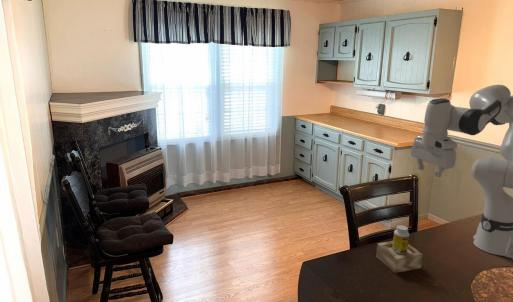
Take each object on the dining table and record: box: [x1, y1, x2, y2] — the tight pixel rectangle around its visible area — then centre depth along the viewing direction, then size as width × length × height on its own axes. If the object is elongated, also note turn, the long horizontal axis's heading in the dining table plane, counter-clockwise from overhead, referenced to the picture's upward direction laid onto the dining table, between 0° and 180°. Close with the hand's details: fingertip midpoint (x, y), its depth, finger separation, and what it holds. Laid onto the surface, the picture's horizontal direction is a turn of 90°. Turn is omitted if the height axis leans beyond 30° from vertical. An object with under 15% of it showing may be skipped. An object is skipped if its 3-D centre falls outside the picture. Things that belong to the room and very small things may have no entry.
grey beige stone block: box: [375, 240, 424, 274], centre depth 141 cm, size 12×12×6 cm
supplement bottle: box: [392, 224, 410, 254], centre depth 139 cm, size 6×6×10 cm
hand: (429, 173), depth 144 cm, fingers open, 8 cm apart
